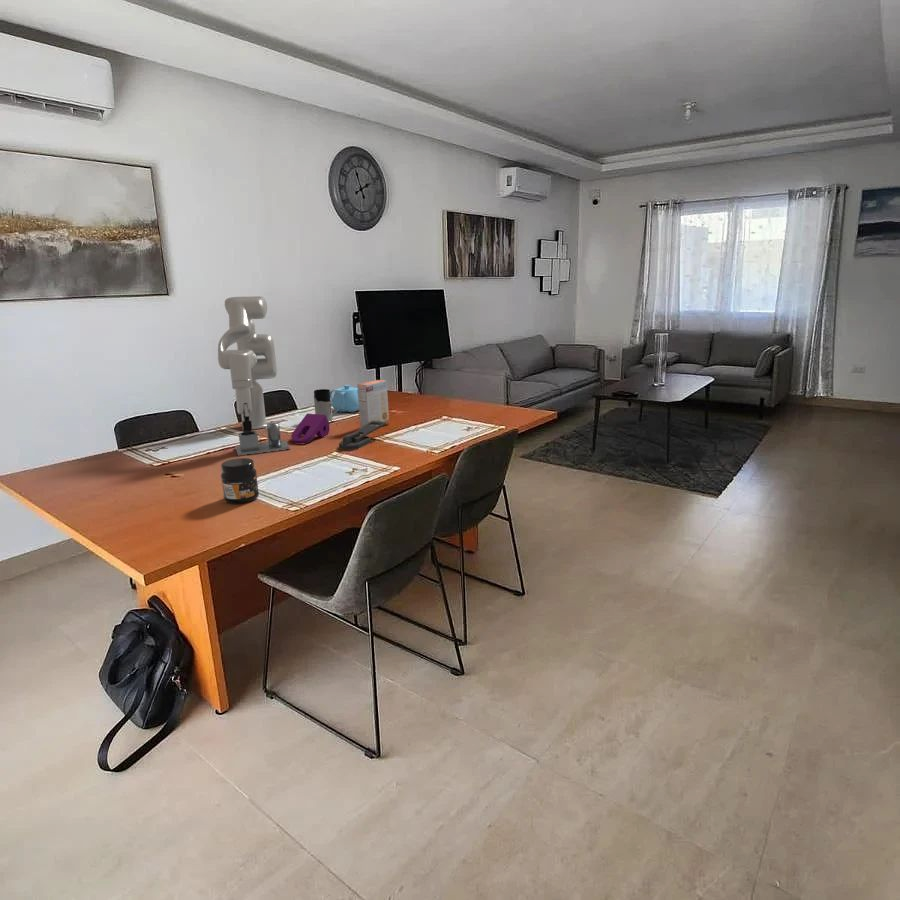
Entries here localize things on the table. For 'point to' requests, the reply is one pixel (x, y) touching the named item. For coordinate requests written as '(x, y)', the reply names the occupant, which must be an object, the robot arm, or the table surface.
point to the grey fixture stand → (252, 446)
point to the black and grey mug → (324, 403)
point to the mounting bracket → (311, 428)
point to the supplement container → (239, 480)
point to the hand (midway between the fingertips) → (247, 429)
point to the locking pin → (246, 431)
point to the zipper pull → (360, 436)
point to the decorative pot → (345, 399)
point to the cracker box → (373, 402)
